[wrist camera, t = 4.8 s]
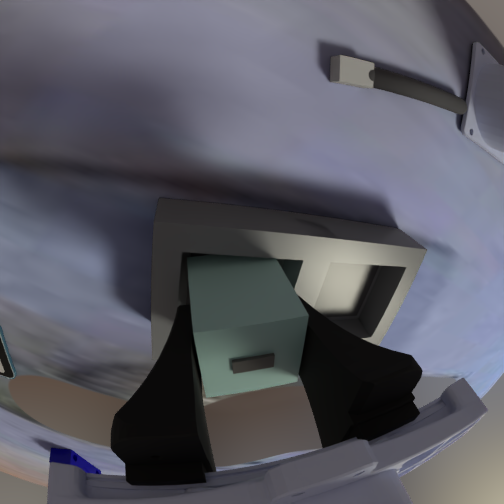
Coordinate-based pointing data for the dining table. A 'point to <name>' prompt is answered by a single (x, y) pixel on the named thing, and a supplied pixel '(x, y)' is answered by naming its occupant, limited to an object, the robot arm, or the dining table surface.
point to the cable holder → (72, 460)
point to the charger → (245, 323)
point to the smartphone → (5, 359)
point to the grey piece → (286, 261)
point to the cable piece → (391, 83)
